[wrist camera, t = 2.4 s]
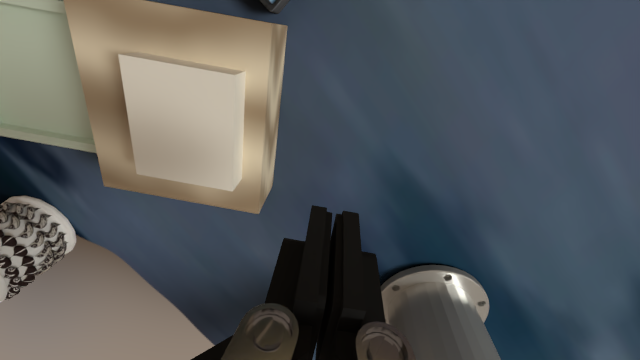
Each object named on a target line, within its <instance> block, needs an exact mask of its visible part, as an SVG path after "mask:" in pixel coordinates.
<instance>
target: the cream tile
mask: <svg viewBox="0 0 640 360" xmlns="http://www.w3.org/2000/svg"><path fill="white" fill-rule="evenodd" d="M118 57H119V63H120V69H121V76H122V82H123V89H124V95H125V102H126V108H127V115H128V121H129V127H130V134H131V140H132V147H133V153H134V160H135V166H136V173H137V174H139V175H144V176H150V177H155V178H161V179H166V180H172V181H177V182H183V183H188V184H194V185H199V186H205V187H210V188H216V189H222V190H227V191H233V190H234V189H235V188H236V186H237V185H238V184H239V182H240V181H241V179H242V159H243V132H244V104H245V76H246V71H241V70H236V69H230V68H225V67H219V66H213V65H208V64H202V63H197V62H191V61H186V60H180V59H175V58H169V57H164V56H158V55H152V54H147V53H141V52H137V53H125V54H118Z"/></svg>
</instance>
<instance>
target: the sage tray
mask: <svg viewBox="0 0 640 360" xmlns="http://www.w3.org/2000/svg"><path fill="white" fill-rule="evenodd" d="M0 136H5V137H10V138H16V139H21V140H27V141H32V142H38V143H43V144H49V145H54V146H60V147H65V148H71V149H77V150H82V151H88V152H93V153H97V151H96V147H95V142H94V138H93V133H92V128H91V124H90V119H89V115H88V110H87V106H86V101H85V96H84V92H83V87H82V83H81V78H80V74H79V69H78V65H77V60H76V55H75V51H74V46H73V42H72V37H71V33H70V28H69V24H68V19H67V14H66V10H65V5H64V1H63V0H0Z"/></svg>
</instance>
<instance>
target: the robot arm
mask: <svg viewBox="0 0 640 360" xmlns="http://www.w3.org/2000/svg"><path fill="white" fill-rule="evenodd" d="M331 223H332V213H330V212H327V208H324V207H319V206H313V205H312V208H311V214H310V219H309V225H308V230H307V236H306V241H305V242H304V241H299V240H293V239H287V238H284V239H283V242H282V246H281V249H280V253H279V256H278V260H277V263H276V267H275V270H274V273H273V277H272V280H271V284H270V287H269V291H268V294H267V298H266V301H265V304H261V305H259V306H256V307H254V308H253V309H251V310H250V311H249V312H247V313H246V315H245V316H244V317H243V319H242V320H241V322H240V324H239V326H238V328H237V330H236V332H235V333H234V335H232V336H231V337H229V338H227V339H226V340H224V341H222V342H220V343H219V344H217V345H215V346H214V347H212V348H210V349H208V350H207V351H205V352H203V353H202V354H200V355H198V356H196V357H195V358H193V359H191V360H312V358H313V354H314V350H315V346H316V342H317V348H316V360H501V359H500V357H499V355H498V353H497V350H496V348H495V346H494V344H493V342H492V340H491V338H490V336H489V334H488V332H487V329H486V327H485V325H484V322H485V320H486V317H487V315H488V312H489V300H488V297H487V295H486V292H485V291H484V289H483V287H482V286H481V284H480V283H479V282H478V281H477V280H476V279H475V278H474V277H473V276H471V275H470V274H468V273H467V272H465V271H462V270H460V269H457V268H454V267H449V266H443V265H423V266H418V267H413V268H409V269H406V270H404V271H401V272H399V273H397V274H395V275H394V276H392V277H390V278H389V279H388V280H387V281H385V282H384V283H383V284H382V286H380V279H379V272H378V265H377V258H376V255H375V254H373V253H368V252H362V251H361V239H360V226H359V214H358V213H353V212H347V211H343V212H342V215H341V214H336V218H335V222H334V227H333V231H332V235H331ZM330 238H331V240H330Z"/></svg>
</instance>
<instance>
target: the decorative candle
mask: <svg viewBox="0 0 640 360" xmlns="http://www.w3.org/2000/svg"><path fill="white" fill-rule="evenodd" d="M76 241H77V240H76V234H75V230H74V228H73V227H72V225H71V224H70V222H69V220H68V219H67V218H66V217H65V216H64V215H63V214H62V213H61V212H60V211H58V210H57V209H56V208H55V207H53V206H52V205H50V204H48V203H46V202H44V201H43V200H41V199H37V198H33V197H30V196H26V195H24V196H13V197H11V198H9V199H7V200H6V201H5V202H3V203H2V204H1V205H0V302H1V301H3V300H6V299H10V298H12V297H13V295H16V294H18V293H19V292H20V287H25V286H27V285H28V283H31V282H33V281H34V280H35V276H38V275H41V274H43V273H44V272H45V271H47V270H49V269H50V268H51V267H52V265H53V264H55V263H57V262H58V261H60V260H62V259H63V257H64V255H65V254H67V253H68V252H70V251H72V250H73V248H74V246H75V244H76Z"/></svg>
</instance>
